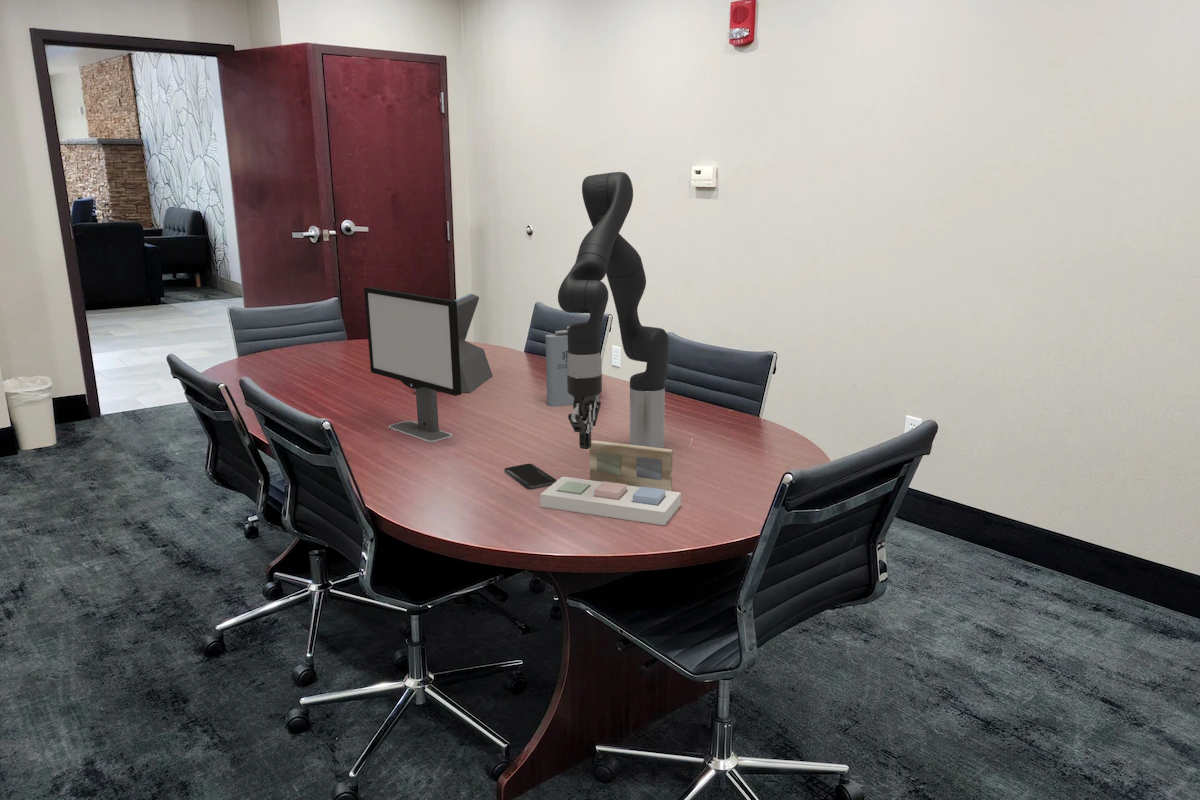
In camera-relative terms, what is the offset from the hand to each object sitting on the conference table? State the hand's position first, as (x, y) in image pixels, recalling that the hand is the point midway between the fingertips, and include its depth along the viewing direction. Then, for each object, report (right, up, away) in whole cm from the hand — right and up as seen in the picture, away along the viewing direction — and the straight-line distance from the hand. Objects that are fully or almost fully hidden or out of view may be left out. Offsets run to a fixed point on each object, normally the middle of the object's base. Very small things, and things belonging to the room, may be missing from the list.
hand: (585, 447), depth 188 cm
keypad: (+6, -13, +1) cm, 14 cm away
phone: (-14, -9, +19) cm, 25 cm away
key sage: (-3, -12, +4) cm, 13 cm away
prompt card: (+10, -10, +13) cm, 19 cm away
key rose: (+6, -11, +1) cm, 13 cm away
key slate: (+14, -12, -2) cm, 19 cm away
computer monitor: (-48, +1, +55) cm, 74 cm away
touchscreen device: (-48, +16, +111) cm, 121 cm away
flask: (-5, +10, +84) cm, 85 cm away
